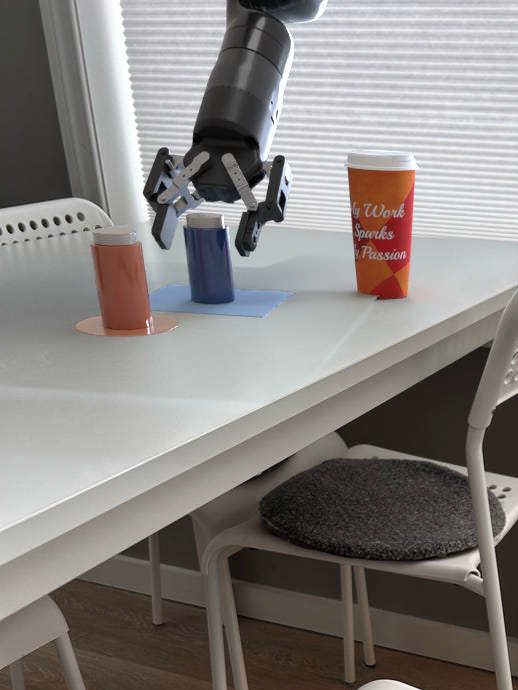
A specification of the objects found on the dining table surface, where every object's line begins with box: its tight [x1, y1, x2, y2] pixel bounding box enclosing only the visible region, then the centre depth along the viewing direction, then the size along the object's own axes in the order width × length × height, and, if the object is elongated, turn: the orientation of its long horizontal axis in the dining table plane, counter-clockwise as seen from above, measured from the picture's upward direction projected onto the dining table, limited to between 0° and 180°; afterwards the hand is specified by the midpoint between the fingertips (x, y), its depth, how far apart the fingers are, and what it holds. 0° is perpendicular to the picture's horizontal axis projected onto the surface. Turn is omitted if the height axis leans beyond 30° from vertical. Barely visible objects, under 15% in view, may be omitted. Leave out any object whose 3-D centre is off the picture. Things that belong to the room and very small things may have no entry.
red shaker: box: [88, 227, 153, 330], centre depth 85 cm, size 4×4×8 cm
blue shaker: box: [182, 212, 235, 304], centre depth 95 cm, size 4×4×8 cm
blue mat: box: [149, 284, 295, 318], centre depth 97 cm, size 14×12×1 cm
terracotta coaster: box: [75, 313, 180, 338], centre depth 87 cm, size 9×9×1 cm
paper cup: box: [343, 149, 420, 300], centre depth 102 cm, size 8×8×14 cm
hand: (201, 248), depth 93 cm, fingers open, 8 cm apart
